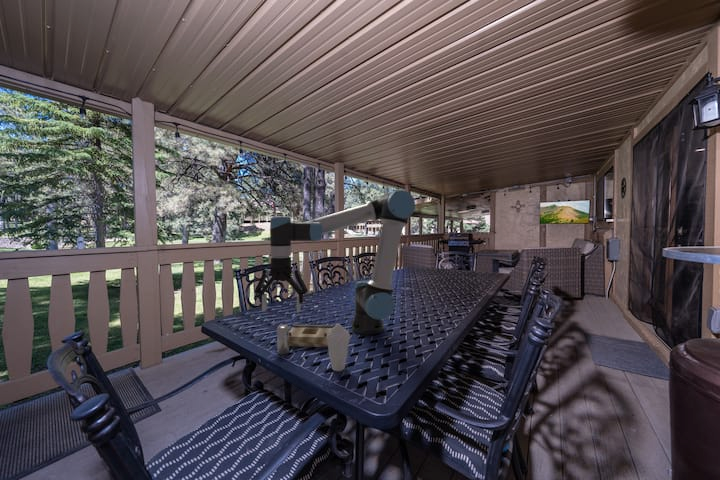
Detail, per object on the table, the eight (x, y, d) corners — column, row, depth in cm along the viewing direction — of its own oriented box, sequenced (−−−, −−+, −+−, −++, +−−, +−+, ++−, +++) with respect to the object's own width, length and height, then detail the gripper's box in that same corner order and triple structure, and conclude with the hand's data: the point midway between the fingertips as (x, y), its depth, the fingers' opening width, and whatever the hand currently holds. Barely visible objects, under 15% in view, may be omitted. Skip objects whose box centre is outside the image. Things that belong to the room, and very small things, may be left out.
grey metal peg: (290, 349, 108) (290, 324, 107) (286, 354, 103) (286, 329, 103) (279, 349, 108) (279, 324, 108) (275, 354, 104) (275, 328, 103)
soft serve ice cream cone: (326, 362, 97) (326, 319, 96) (349, 361, 98) (349, 318, 97) (325, 375, 89) (325, 327, 88) (351, 374, 90) (350, 326, 89)
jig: (333, 334, 122) (333, 324, 121) (328, 347, 110) (328, 334, 109) (294, 334, 123) (294, 323, 123) (285, 346, 111) (284, 334, 111)
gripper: (315, 255, 107) (315, 308, 108) (253, 255, 108) (254, 307, 109) (310, 258, 99) (310, 315, 100) (244, 257, 101) (245, 313, 102)
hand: (281, 311), depth 105 cm, fingers open, 13 cm apart
